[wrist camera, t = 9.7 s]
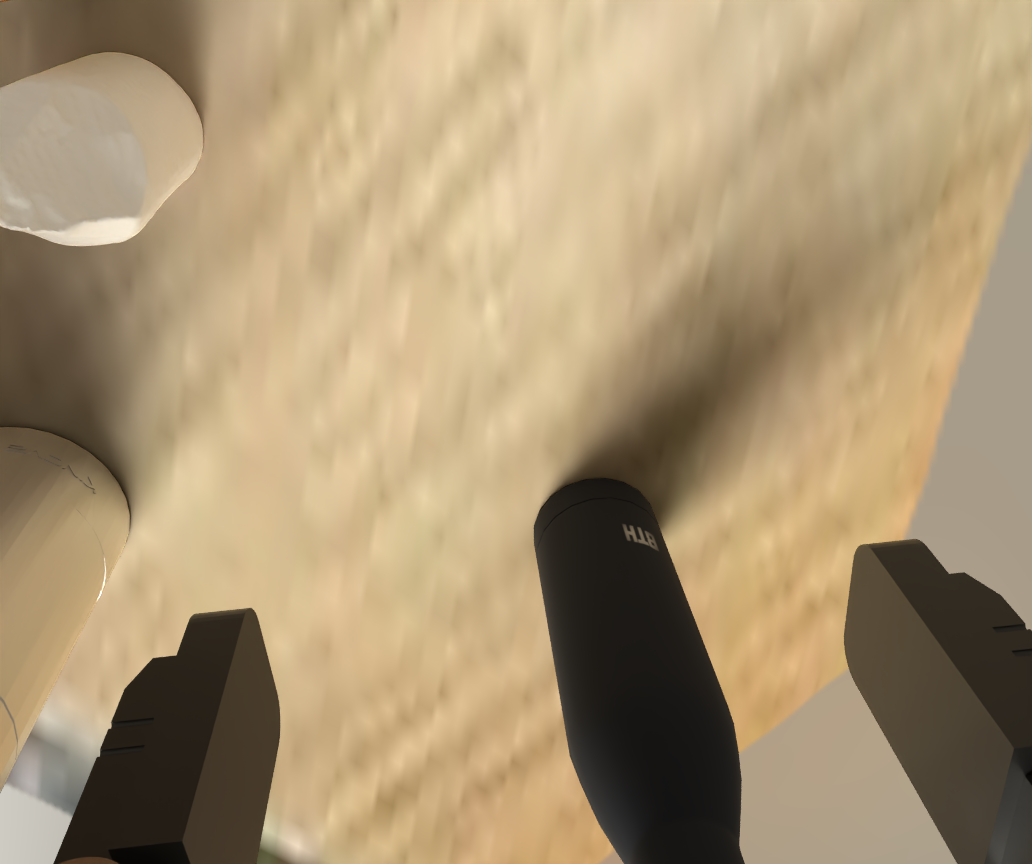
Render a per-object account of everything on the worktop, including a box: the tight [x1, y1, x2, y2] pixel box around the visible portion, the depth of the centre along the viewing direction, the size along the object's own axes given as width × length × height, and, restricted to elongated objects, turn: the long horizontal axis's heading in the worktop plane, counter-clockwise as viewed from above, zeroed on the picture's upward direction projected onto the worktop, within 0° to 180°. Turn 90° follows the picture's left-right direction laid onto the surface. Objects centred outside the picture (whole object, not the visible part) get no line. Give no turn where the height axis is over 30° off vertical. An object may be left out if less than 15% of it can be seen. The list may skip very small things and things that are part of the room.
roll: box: [0, 52, 203, 246], centre depth 32 cm, size 6×12×6 cm
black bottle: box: [534, 478, 745, 864], centre depth 35 cm, size 6×6×30 cm
